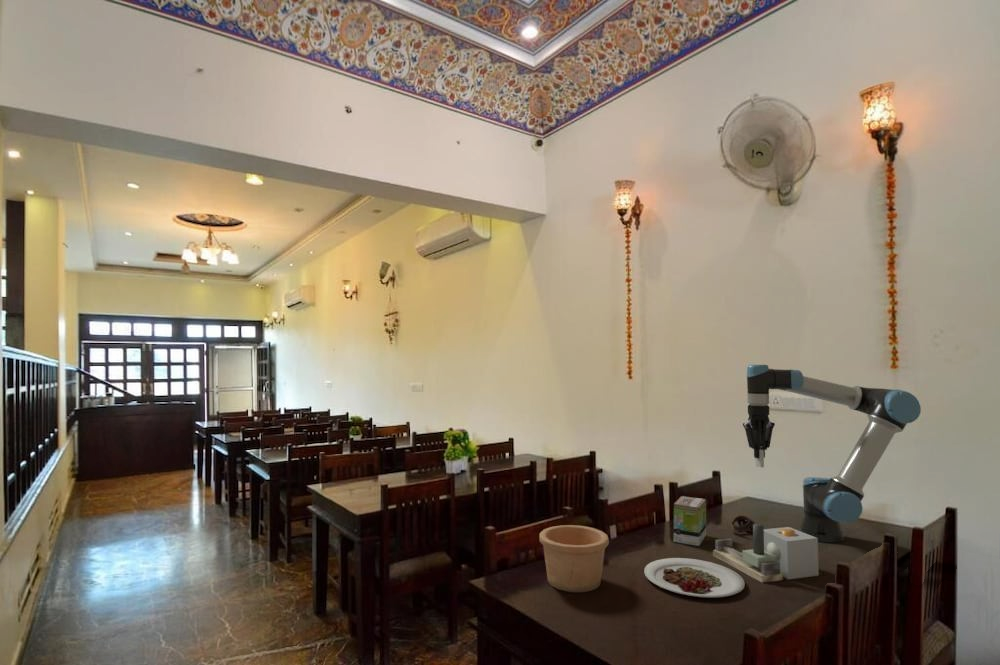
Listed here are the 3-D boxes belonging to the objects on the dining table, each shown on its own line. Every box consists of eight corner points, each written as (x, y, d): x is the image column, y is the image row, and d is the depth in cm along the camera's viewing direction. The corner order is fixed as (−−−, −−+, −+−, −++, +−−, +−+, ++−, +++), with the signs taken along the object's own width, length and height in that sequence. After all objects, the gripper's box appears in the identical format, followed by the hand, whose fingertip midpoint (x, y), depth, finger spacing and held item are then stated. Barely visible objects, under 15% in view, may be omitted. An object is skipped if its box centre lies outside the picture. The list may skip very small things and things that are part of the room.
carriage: (760, 557, 180) (759, 521, 180) (776, 565, 173) (775, 527, 174) (742, 559, 178) (741, 522, 179) (757, 567, 171) (756, 529, 172)
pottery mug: (764, 539, 212) (756, 522, 210) (741, 548, 213) (733, 531, 211) (751, 522, 223) (743, 506, 222) (730, 531, 225) (722, 515, 223)
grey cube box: (789, 562, 186) (789, 526, 187) (818, 575, 174) (817, 538, 175) (759, 565, 183) (759, 529, 183) (787, 579, 171) (786, 541, 172)
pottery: (622, 581, 170) (621, 535, 171) (581, 603, 154) (580, 552, 155) (567, 563, 185) (567, 520, 186) (525, 581, 169) (525, 535, 170)
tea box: (700, 547, 201) (699, 507, 202) (672, 542, 206) (672, 503, 207) (706, 535, 214) (706, 498, 215) (681, 531, 219) (680, 494, 220)
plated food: (710, 560, 188) (709, 551, 188) (766, 598, 158) (766, 586, 158) (629, 566, 183) (629, 556, 183) (672, 606, 153) (672, 594, 153)
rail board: (732, 553, 194) (731, 538, 194) (782, 580, 171) (782, 562, 171) (713, 555, 192) (712, 540, 192) (761, 582, 169) (761, 564, 169)
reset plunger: (789, 553, 181) (788, 528, 182) (798, 558, 178) (797, 532, 178) (779, 555, 180) (778, 529, 181) (788, 559, 177) (787, 533, 177)
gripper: (765, 403, 211) (766, 463, 210) (737, 404, 208) (738, 465, 207) (779, 405, 204) (781, 467, 203) (750, 405, 201) (752, 469, 199)
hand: (759, 466), depth 205 cm, fingers closed
